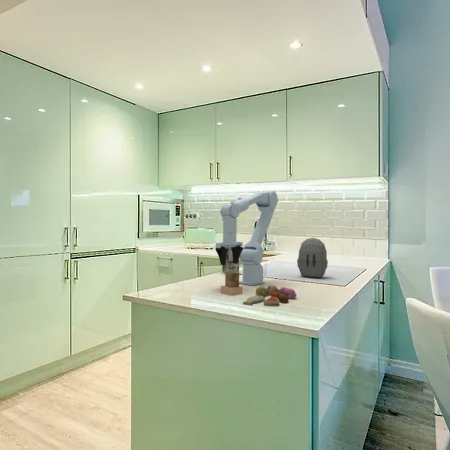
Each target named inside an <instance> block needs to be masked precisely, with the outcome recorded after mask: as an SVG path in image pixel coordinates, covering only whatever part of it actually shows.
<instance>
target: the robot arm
mask: <svg viewBox="0 0 450 450" xmlns="http://www.w3.org/2000/svg"><path fill="white" fill-rule="evenodd" d="M278 202H279V198H278V194H277V192H276V191H274V190H271V191H270V190H269V191H257V192H254V193H253V194H251V195H250V196H248V197H246V198H245V197H242V196H241V197H237V199H236V200H233V201H230V203H225V204H223V205H222V206H221V208H220V210H219V212H220V215H221V220H222V241H221V242H216V243H215V251H216V254H217V256H218V260H219V262H220V266H222V265H225V264H226V255H227V251H228V249H225V247H231V250H232V255H233V263H235V264H238V260H239V261H241V264H242V280H241V281H240V280H239V284H243V285H248V286H254V285H259V284H264V283H265V282H266V281H264V266H263V265H262V261H263V258H264V257H263V256H264V252H265V249H264V248H263V246H262V245H263V242H264V239H265V237H266V234H267V233H268V232H267V231H268V229H269V226H270V224H271V220H272V219H273V216H274V213H275V210H276V208H277V205H278ZM254 204H255V205H256V207H257V209H258V211H259V212H260V213H261V214H260V216H259V219H258V220H257V223H256V226H255V227H254V228H255V229H254V230H253V232H252V235H251V238H250V240H249V241H248V242H247V243H245V244H244V245H243V243H244V242H243V241H237V234H238V233H237V232H238V230H237V229H238V227H237V225H238V224H237V222H238V217H239V216H240V214H241V213H243V212H246V211H248V209H249V208H250V206H251V205H254ZM228 245H234V246H228Z"/></svg>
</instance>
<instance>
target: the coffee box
mask: <svg viewBox="0 0 450 450" xmlns="http://www.w3.org/2000/svg"><path fill="white" fill-rule="evenodd" d="M228 246H234V245H228ZM225 249H228V251H227V255H226V264H225V265H221V267H222V271H221V272H222V274H225V272H231V271H235V272H238V273H239V274H240V259H239V260H238V264H235V263H233V255H232V250H231V247H225Z"/></svg>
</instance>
